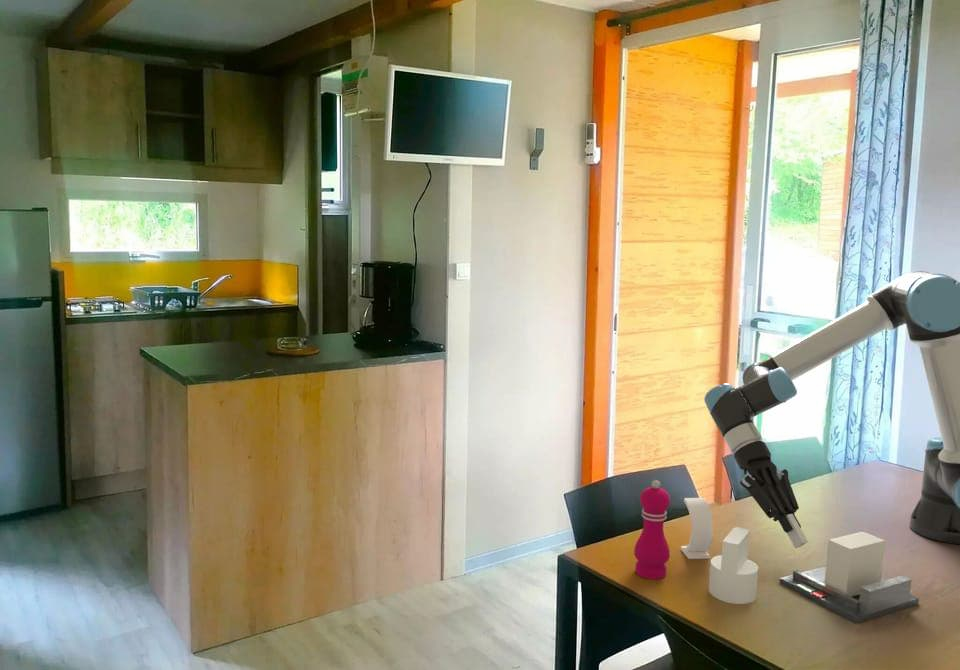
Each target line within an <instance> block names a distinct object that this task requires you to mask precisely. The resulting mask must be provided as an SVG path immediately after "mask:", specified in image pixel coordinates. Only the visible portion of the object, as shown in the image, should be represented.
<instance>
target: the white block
mask: <svg viewBox="0 0 960 670" xmlns="http://www.w3.org/2000/svg"><path fill="white" fill-rule="evenodd" d="M827 541H828V543H827V551H826V552H827V553H826V562H825V563H826V565H825V566H826V573H825V584H826V585H828V586H830V587H832V588H834V589H836V590H838V591H840V592H842V593H845V594H847V595H849V596H851V597H852V596H856V595H859V594H860V588H861V587H863V586H866V585H870V584H873V583H877V582H880V581H881V580H882V572H883V571H882V570H883V566H884V565H883V563H884V554H885V553H884V552H885V544H886V540H885V539H883V538H879V537H877V536H874V535H872V534H871V533H867V532H865V531H859V532H855V533H851V534H846V535H842V536H837V537H834V538H829V539H828V540H827Z"/></svg>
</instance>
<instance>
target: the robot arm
mask: <svg viewBox="0 0 960 670" xmlns="http://www.w3.org/2000/svg"><path fill="white" fill-rule="evenodd" d="M903 325H906V329H907V333H908V337H909V340H910V342H912V343H914V344H916V345H917V346H918V347H919V349H920V354H921V358H922V361H923V363H922V364H923V367H924V371H925V375H926V380H927V383H928V387H929V392H930V395H931V396H930V397H931V399H932V403H933V407H934V408H933V409H934V412H935V415H936V416H935V417H936V420H937V425H938V428H939V432H940V436H941V437H931V438H930V439H928V441H927V443H926V449H925V450H924V453H925V456H924V464H923V475H922V481H921V483H922V485H921V492H920V498H919V500H918V501H917V504H916V505H915V506H914V509H913V511H912V513H911V515H910V519H909V528H910V529H911V530H912V531H913V532H914V533H916V534H918V535H919V536H923V537H924V538H928V539H931V540H934V541H938V542H942V543H946V544H947V543H948V544H954V545H955V544H956V545H960V282H959V281H958V280H956V279H955V278H953V277H952V276H949V275H946V274H943V273H931V272H929V271H923V270H920V271H919V270H918V271H915V270H914V271H912V272H908V273H905V274H903V275H901V276H899V277H897V278H896V279H894V280H892V281H891V282H889V283H887V284H885V285H883V286H882V287H881V288H879V289H877V290H876V291H874V292H872V293H870V294H869V295H868V296H867V298H866V301H865V302H864V303H862V304H861V305H858V306H856V307H855V308H854V309H852V310H849V311H847V312H846V313H845V314H842V315H841V316H839V317H838V318H836V319H834V320H832V321H830V322H828V323H827V324H826V325H823V326H822V327H820V328H819V329H817V330H815V331H813V332H811V333H810V334H807V335H806V336H804V337H802V338H801V339H799V340H797V341H795V342H794V343H792V344H790V345H789V346H787V347H785V348H783V349H781V350H780V351H778V352H776V353H774V354H773V355H771V356H770V357H767V358H765V359H764V360H762V361H760V362H758V361H757V362H756V361H755V362H753V363H750V364H749V365H748V366H746V367H745V369H744V370H743V372H742V384H743V385H741V386H739V387H734V386H733V385H732V384H731V383H722V384H721V385H720V384H718V385H716V386H715V387H712V388H711V389H710V390H708V392H706V394H705V396H704V403H705V405H706V407H707V410H708V412H709V414H710V416H711V418H712V420H713V421H714V423H715V425H716V427H717V429H718V430H719V432H720V434H721V435H722V437H723V439H724V441H725V443H726V445H727V447H728V448H729V449H728V450H729V451H730V453H732V454H733V458H734V460H735V462H736V464H737V466H738V467H739V469H740V470H742V471H743V474H744V477H743V478H742V479H741V480H740V481H739V484H740V485H741V486H742V487H743V488H745V489H746V490H747V491H748V493H749V495H751V496H752V498H753V499H754V501H755V502H756V503H757V505H758V506H759V508H761V510H762V511H763V513H764V514H765V515H766V517H768V518H769V519H772V520H773V521H774V522H777V521H778V522H779V524H780V526H781V528H782V529H783V531H784V533H786V534H787V536H788V538H789V540H790V541H791V544H792V545H793V547H794V549H797V548H801V547H803V546H804V545H805V544H807V543H809V541H808V539H807V537H806V536H805V533H804V532H803V530H802V525H801V524H800V522H799V520H798V518H797V516H796V515H795V513H796V512H797V511H798V510H799V509H800V507H799V504H798V502H797V501H798V500H797V499H796V496H795V493H794V490H793V487H792V484H791V482H790V479H789V472H788V471H789V470H787V469H785V468H784V469H783V470H782V469H779V468H777V465H776V464H774V462H773V461H772V459H771V458H772V453H771V451H770V450H769V448H768V446H767V445H766V442H765V441H763V437H762V435H761V434H760V431H759V430H758V428H757V426H756V425H755V423H754V421H753V420H752V418H754V417H756V416H758V415H760V414H762V413H765V412H767V411H769V410H771V409H772V408H775V407H777V406H779V405H781V404H783V403H786V402H787V401H788V400H791V399H792V398H794V397H795V396H797V394H798V390H797V388H796V386H795V384H794V382H793V381H794V380H795V379H797V378H799V377H801V376H803V375H805V374H806V373H808V372H810V371H812V370H813V369H816V368H817V367H819V366H821V365H823V364H825V363H827V362H828V361H830V360H831V359H833V358H835V357H838V356H839V355H841V354H843V353H844V352H846V351H848V350H850V349H852V348H854V347H855V346H857V345H858V344H861V343H863V342H864V341H866V340H868V339H869V338H872V337H873V336H875V335H877V334H879V333H881V332H883V331H885V330H888V331H893V330H895V329H897V328H898V327H901V326H903Z"/></svg>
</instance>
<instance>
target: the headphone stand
mask: <svg viewBox="0 0 960 670" xmlns="http://www.w3.org/2000/svg"><path fill="white" fill-rule="evenodd" d="M683 502H684V503H685V505H686V508H687V510H688V513H689V519H690V538H689V543H688V545H681V546H680V551H681V552H682V553H683V554H684V555H685V556H686V557H687V559H688V560H697V559H698V560H704V559H710V554H709V553H708V551H709V549H710V547H711V545H712V543H713V534H714V523H713V516H712V512H711V508H710V506H709V505H710V504H709V503H708V501H707V499H706V498H705V497H684V499H683Z"/></svg>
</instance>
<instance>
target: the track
mask: <svg viewBox="0 0 960 670" xmlns="http://www.w3.org/2000/svg"><path fill="white" fill-rule="evenodd" d="M825 573H826V565H824V566H821V567H817V568H812V569H809V570H805V571H800V570H798V569H795V570H792V574H790V575H787V576H783V577H779V585H780V586H781V585H782V587H785V588H787V589H789V590H791V591H793V592H795V593H797V594H798V595H801V596H803V597H805V598H806V599H807V600H810V601H812V602H814V603H815V604H818V605H820V606H821V607H823V608H825V609H828V610H829V611H831V612H833V613H835V614H837V615H838V616H840V617H843V618H844V619H847V620H848V621H850V622H852V623H854V624H856V625H858V624H861V623H863V622H866V621H870V620H873V619H876V618H879V617H882V616H886V615H889V614H891V613H895V612H898V611H901V610H905V609H907V608H911V607H914V606H918V605H919V603H920V602H919V601H920V599H919V598H918V597H916V596H915V595H912V594H911V588H912V578H909V577H906V576H905V575H898V576H895V577H892V578H887V579H885V580H882V579H881V581H880V582H877V583H873V584H870V585H866V586H863V587H861V588H860V594H859V595H856V596H852V597H851V596H849V595H847V594H845V593H842V592H840V591H838V590H836V589H834V588H832V587H830V586H828V585H826V584H825Z"/></svg>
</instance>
